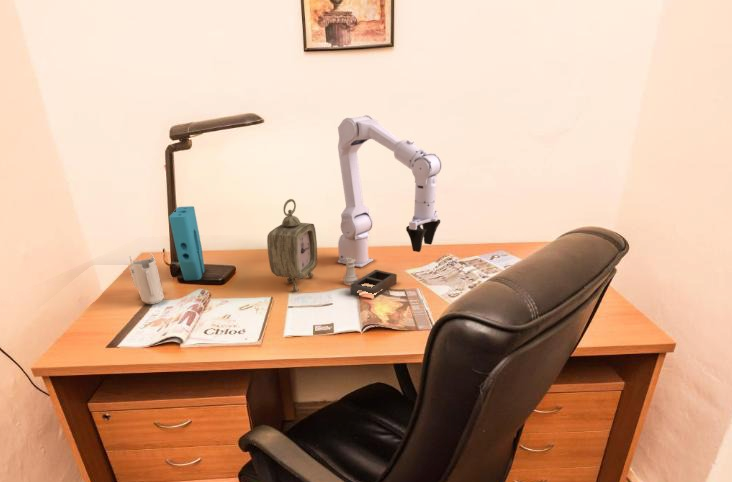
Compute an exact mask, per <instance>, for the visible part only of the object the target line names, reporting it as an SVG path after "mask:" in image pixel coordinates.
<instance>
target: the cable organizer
mask: <svg viewBox="0 0 732 482" xmlns="http://www.w3.org/2000/svg"><path fill="white" fill-rule="evenodd" d="M149 254H150V258H145V259H139V260H133V259H132V257H131V255H129V256H128V257H129V261H130V266H128V269H129V272H130V276H131V280H132V281H133V286H134V288H136V289H137V290H138V292H139V293H138V294H139V296H140V299H141V301H142V302H143V303H144V304H146V305H155V304H159V303H161V302H162V301H163V299H164V297H165V295H164V290H163V286H162V283H161V278H160V274H159V270H158V266H157V261H156V257H154V255H153V253H152V252H150V253H149Z"/></svg>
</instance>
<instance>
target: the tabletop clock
mask: <svg viewBox="0 0 732 482" xmlns="http://www.w3.org/2000/svg"><path fill="white" fill-rule="evenodd" d="M291 202H292V203H293V209H288V210H287V212H286V207H287V206H288V204H289V203H291ZM296 207H297V203H296V201H295V200H294V199H293V198H289V199H288V200H286V201H285V203H284V205H283V214H284V216H285V217H284V218H283V220H282V222H281V224H280V225H278V226H276V227H274V228H273V229H272V230H271V231H270V232H268V234H267V236H266V237H267V238H266V240H267V241H266V243H267V256H268V262H269V263H268V264H269V268H270V272H271V273H272V274H273V275H274V276H276V277H280V278H286V283H287V284H293V287H292V290H293V292H295V293H296V292H298V291H299V287H298V285H297V283H296V280H303V279H305V278H306V277H307V276H308V278H309V279H313V278H314V273H313V271H314V269H315V268H316V267H317V264H318V242H317V232H316V227H315V224H314V223H311V222H310V223H308V222H301V220H300V219H299V218H298V217H297V216H296V215H293V214H294V213H295V211H296Z"/></svg>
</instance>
